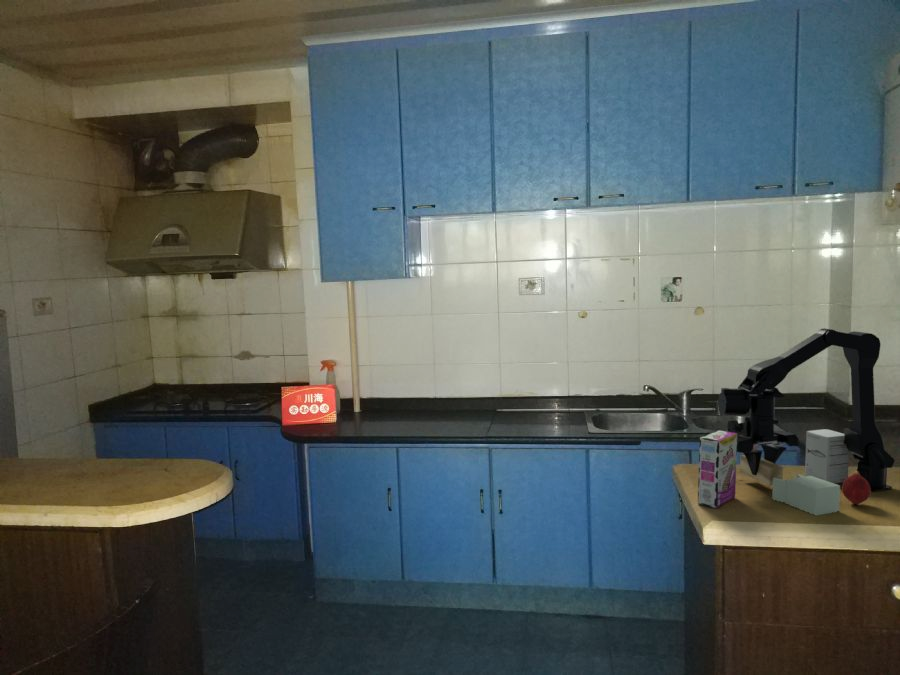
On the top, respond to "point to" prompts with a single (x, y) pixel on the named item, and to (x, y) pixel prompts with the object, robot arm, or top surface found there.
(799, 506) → the forked bracket
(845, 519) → the top surface
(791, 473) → the top surface
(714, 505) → the candy bar box
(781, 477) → the oak slat
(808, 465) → the supplement box
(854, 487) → the onion
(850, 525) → the top surface
